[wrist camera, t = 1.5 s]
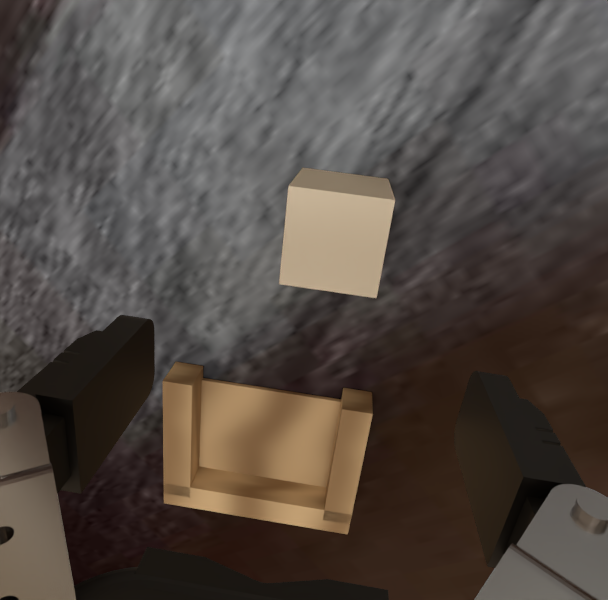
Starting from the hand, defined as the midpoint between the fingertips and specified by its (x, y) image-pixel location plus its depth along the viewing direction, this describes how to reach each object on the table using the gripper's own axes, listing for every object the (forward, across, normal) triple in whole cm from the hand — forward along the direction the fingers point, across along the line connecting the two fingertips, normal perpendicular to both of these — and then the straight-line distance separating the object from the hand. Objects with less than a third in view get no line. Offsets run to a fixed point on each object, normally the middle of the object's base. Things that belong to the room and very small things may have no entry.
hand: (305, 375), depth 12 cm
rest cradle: (+18, +3, +18) cm, 26 cm away
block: (+18, 0, 0) cm, 18 cm away
